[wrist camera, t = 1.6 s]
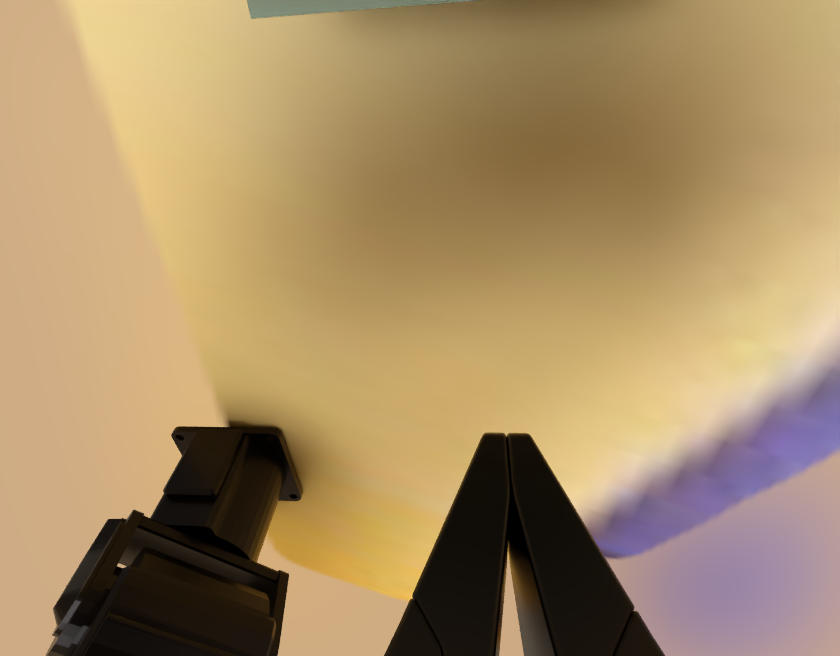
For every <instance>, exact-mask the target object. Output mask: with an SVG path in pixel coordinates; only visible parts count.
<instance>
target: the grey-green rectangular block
mask: <svg viewBox="0 0 840 656" xmlns="http://www.w3.org/2000/svg"><path fill="white" fill-rule="evenodd" d="M465 1H477V0H247V3H248V7H249V11H250V15H251V19H254V18H267V17H279V16H291V15H304V14H316V13H328V12H341V11H353V10H366V9H378V8H390V7H403V6H415V5H428V4H440V3H452V2H465Z"/></svg>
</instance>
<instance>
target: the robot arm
mask: <svg viewBox="0 0 840 656" xmlns="http://www.w3.org/2000/svg"><path fill="white" fill-rule="evenodd" d="M171 436H172V438H173V440H174V442H175V444H176V445H177V447H178V449H179V451H180V452H181V454H182V457H181V459H180V461H179V463H178V465H177V466H176V468H175V470H174V472H173V473H172V475H171V477H170V479H169V481H168V482H167V484H166V486H165V488H164V490H163V492H164V495H163V496H162V498H161V500H160V502H159V503H158V505H157V507H156V509H155V511H154V512H153V514H152V516H151V518H148V517H145V516H143V515H144V513H141V512H138V511H136V510H133V511H132V513H131V514H130V515H129V517H128V518H127V519H123V518H122V519H108V521H107V522H106V523H105V525H104V527H103V528H102V530H101V531H100V533H99V535H98V536H97V538H96V539H95V541H94V543H93V544H92V546H91V547H90V549H89V550H88V552H87V554H86V555H85V557H84V558H83V560H82V562H81V563H80V565H79V567H78V568H77V570H76V572H75V573H74V575H73V577H72V578H71V580H70V582H69V583H68V585H67V586H66V588H65V590H64V591H63V593H62V595H61V596H60V598H59V600H58V601H57V603H56V605H55V606H54V608H53V610H54V615H55V619H56V623H57V627H56V629H55V631H54V633H53V634H52V635H53V636H55V639H54V640H53V642H52V644H51V646H50V648H49V650H48V652H47V654H46V656H277V655H278V649H279V643H280V636H281V629H282V622H283V615H284V608H285V600H286V593H287V585H288V578H289V574H288V573H285V572H283V571H281V570H279V571H276V570H274V569H271V568H268V567H266V566H264V565H261V564H259V563H257V560H258V556H259V553H260V551H261V548H262V545H263V542H264V540H265V537H266V534H267V531H268V528H269V525H270V522H271V520H272V517H273V514H274V511H275V508H276V505H277V502H278V500H281V501H298V500H300V499H301V497H302V494H303V491H302V488H301V485H300V483H299V480H298V477H297V474H296V472H295V469H294V466H293V463H292V461H291V458H290V455H289V452H288V450H287V447H286V444H285V442H284V439H283V436H282V434H281V432H280V431H279V430H277V429H274V428H240V427H176V428H175V429H174V431H173V433H172V435H171ZM507 552H509V560H510V567H511V574H512V580H513V587H514V593H515V600H516V606H517V612H518V619H519V625H520V632H521V638H522V645H523V651H524V656H665V655H664V653H663V652H662V650H661V648H660V647H659V645H658V644H657V642H656V641H655V639H654V638H653V636H652V635H651V633H650V631H649V629H648V628H647V626H646V624H645V623H644V621H643V620H642V618H641V616H640V615H639V613H638V612H637V611H633V610H634V605H633V603H632V602H631V600H630V599H629V597H628V595H627V594H626V592H625V590H624V589H623V587H622V585H621V584H620V582H619V580H618V579H617V577H616V575H615V574H614V572H613V571H612V569H611V567H610V565H609V564H608V562H607V561H606V559H605V557H604V556H603V554H602V552H601V551H600V549H599V547H598V546H597V544H596V542H595V541H594V539H593V537H592V536H591V534H590V532H589V531H588V529H587V527H586V526H585V524H584V523H583V521H582V519H581V518H580V516H579V514H578V513H577V511H576V509H575V508H574V506H573V504H572V503H571V501H570V499H569V498H568V496H567V494H566V493H565V491H564V490H563V488H562V486H561V485H560V483H559V481H558V480H557V478H556V476H555V475H554V473H553V471H552V470H551V468H550V466H549V465H548V463H547V461H546V460H545V458H544V457H543V455H542V453H541V452H540V450H539V448H538V447H537V445H536V443H535V442H534V440H533V438H532V437H531V436H530V435H529V434H527V433H509V434H508V435H507V437H506V435H505V434H504V433H485V434H483V436H482V438H481V440H480V442H479V444H478V447H477V449H476V451H475V454H474V456H473V458H472V460H471V463H470V465H469V467H468V469H467V472H466V474H465V476H464V479H463V481H462V483H461V485H460V488H459V490H458V492H457V495H456V497H455V499H454V501H453V504H452V506H451V508H450V510H449V513H448V515H447V517H446V520H445V522H444V524H443V526H442V529H441V531H440V533H439V536H438V538H437V540H436V542H435V545H434V547H433V549H432V551H431V554H430V556H429V558H428V561H427V563H426V565H425V567H424V570H423V572H422V574H421V577H420V579H419V581H418V583H417V586H416V588H415V590H414V592H413V595H412V596H413V599H411V600H410V601H409V603H408V606H407V608H406V610H405V612H404V615H403V617H402V619H401V621H400V624H399V626H398V628H397V630H396V632H395V634H394V636H393V638H392V640H391V642H390V645H389V646H388V649H387V651H386V653H385V655H384V656H499V650H500V639H501V627H502V615H503V603H504V592H505V580H506V568H507ZM118 563H120V564H123V565H125V566H127V567H125V568H120V567H117V564H118Z"/></svg>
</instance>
